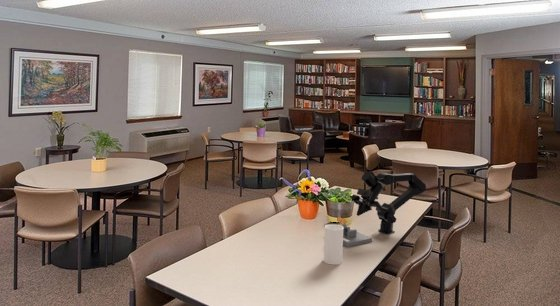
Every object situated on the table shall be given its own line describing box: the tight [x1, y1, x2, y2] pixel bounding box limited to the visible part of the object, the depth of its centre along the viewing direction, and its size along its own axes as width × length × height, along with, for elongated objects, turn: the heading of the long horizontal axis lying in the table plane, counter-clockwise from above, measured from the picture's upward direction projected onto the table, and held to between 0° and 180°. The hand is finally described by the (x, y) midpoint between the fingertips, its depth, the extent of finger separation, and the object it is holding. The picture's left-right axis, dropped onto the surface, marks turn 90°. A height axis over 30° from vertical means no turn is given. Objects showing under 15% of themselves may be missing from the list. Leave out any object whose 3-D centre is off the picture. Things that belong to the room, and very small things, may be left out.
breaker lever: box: [337, 217, 349, 233], centre depth 221 cm, size 2×5×11 cm
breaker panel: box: [343, 226, 373, 248], centre depth 223 cm, size 16×18×6 cm
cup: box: [323, 223, 344, 266], centre depth 193 cm, size 8×8×16 cm
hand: (357, 215), depth 225 cm, fingers closed
